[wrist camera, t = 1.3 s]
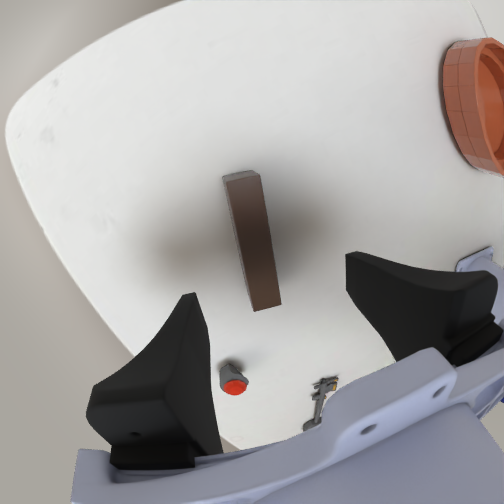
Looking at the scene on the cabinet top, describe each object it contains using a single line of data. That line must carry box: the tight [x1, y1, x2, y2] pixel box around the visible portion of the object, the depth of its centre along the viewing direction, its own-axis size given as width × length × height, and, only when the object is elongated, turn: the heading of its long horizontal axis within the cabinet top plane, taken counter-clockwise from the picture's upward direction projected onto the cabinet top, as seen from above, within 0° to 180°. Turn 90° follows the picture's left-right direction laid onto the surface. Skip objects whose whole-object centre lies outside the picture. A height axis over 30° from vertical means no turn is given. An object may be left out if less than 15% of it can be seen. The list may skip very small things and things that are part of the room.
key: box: [303, 377, 338, 432], centre depth 29 cm, size 12×1×3 cm
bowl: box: [443, 38, 504, 178], centre depth 16 cm, size 14×14×4 cm
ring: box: [220, 364, 249, 395], centre depth 23 cm, size 2×3×3 cm
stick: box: [223, 170, 281, 312], centre depth 18 cm, size 9×2×2 cm, turn 10°
